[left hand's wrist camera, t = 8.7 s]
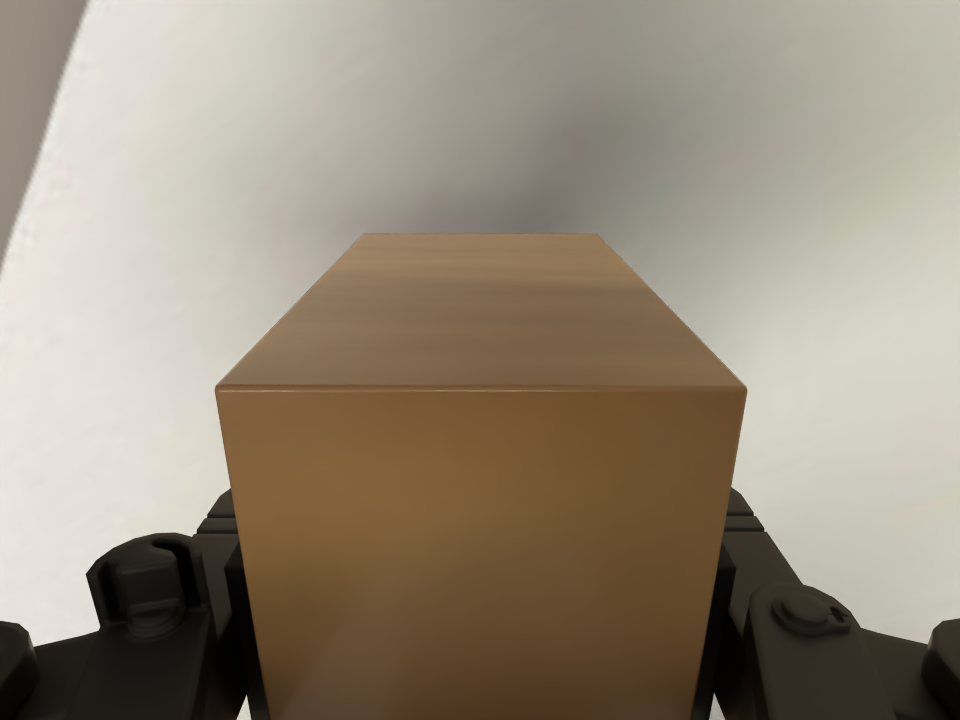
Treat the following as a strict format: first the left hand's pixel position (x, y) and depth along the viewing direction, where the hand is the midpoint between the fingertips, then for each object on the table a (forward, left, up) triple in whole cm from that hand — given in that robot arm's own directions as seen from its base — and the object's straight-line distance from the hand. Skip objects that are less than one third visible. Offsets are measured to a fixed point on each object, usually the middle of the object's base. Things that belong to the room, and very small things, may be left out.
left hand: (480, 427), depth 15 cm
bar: (+7, +4, -1) cm, 9 cm away
